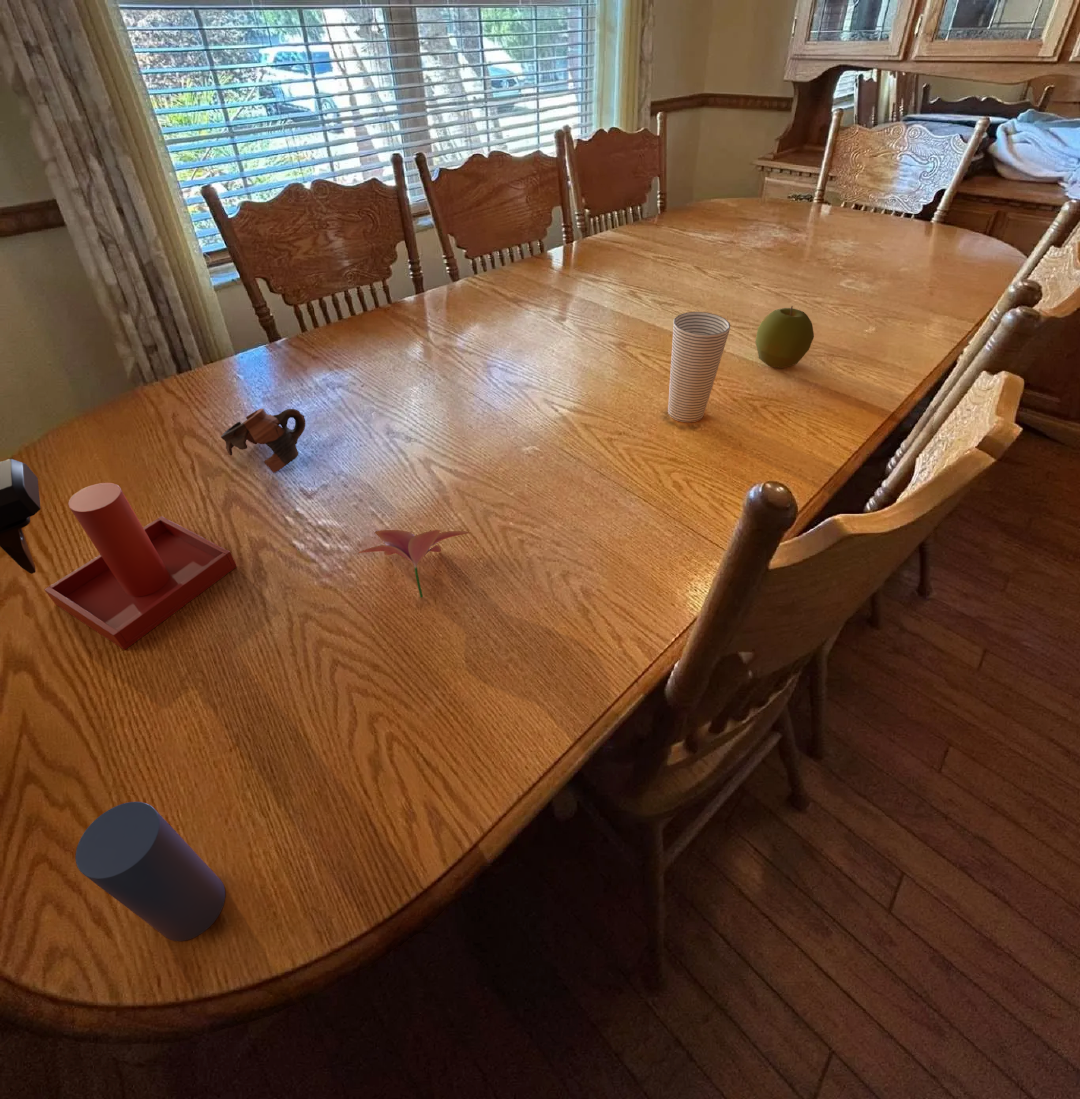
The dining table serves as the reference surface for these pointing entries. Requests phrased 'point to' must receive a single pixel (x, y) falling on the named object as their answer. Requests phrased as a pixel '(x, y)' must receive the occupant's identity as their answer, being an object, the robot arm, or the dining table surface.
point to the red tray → (129, 617)
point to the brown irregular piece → (268, 435)
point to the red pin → (119, 538)
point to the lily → (411, 545)
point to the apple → (784, 337)
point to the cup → (694, 362)
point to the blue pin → (151, 871)
